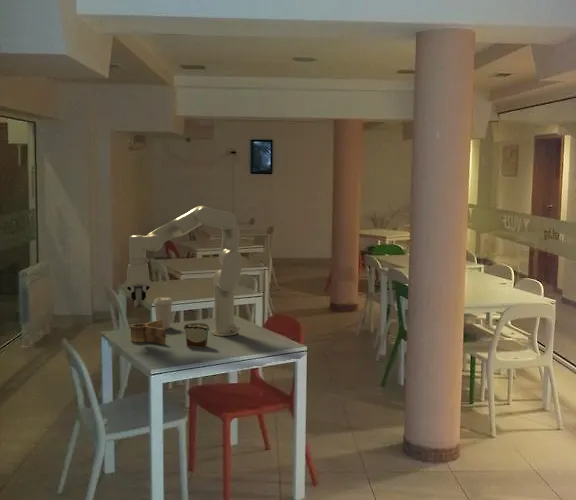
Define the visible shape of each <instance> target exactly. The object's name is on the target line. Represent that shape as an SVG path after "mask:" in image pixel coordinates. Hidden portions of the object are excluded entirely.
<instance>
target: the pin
mask: <svg viewBox="0 0 576 500" xmlns="http://www.w3.org/2000/svg"><path fill="white" fill-rule="evenodd" d="M143 290H144V289H143V286H142V284H135V286H134V298H135V301H133V303H134V305H133V306H134V308H143V307H144V301H143Z"/></svg>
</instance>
